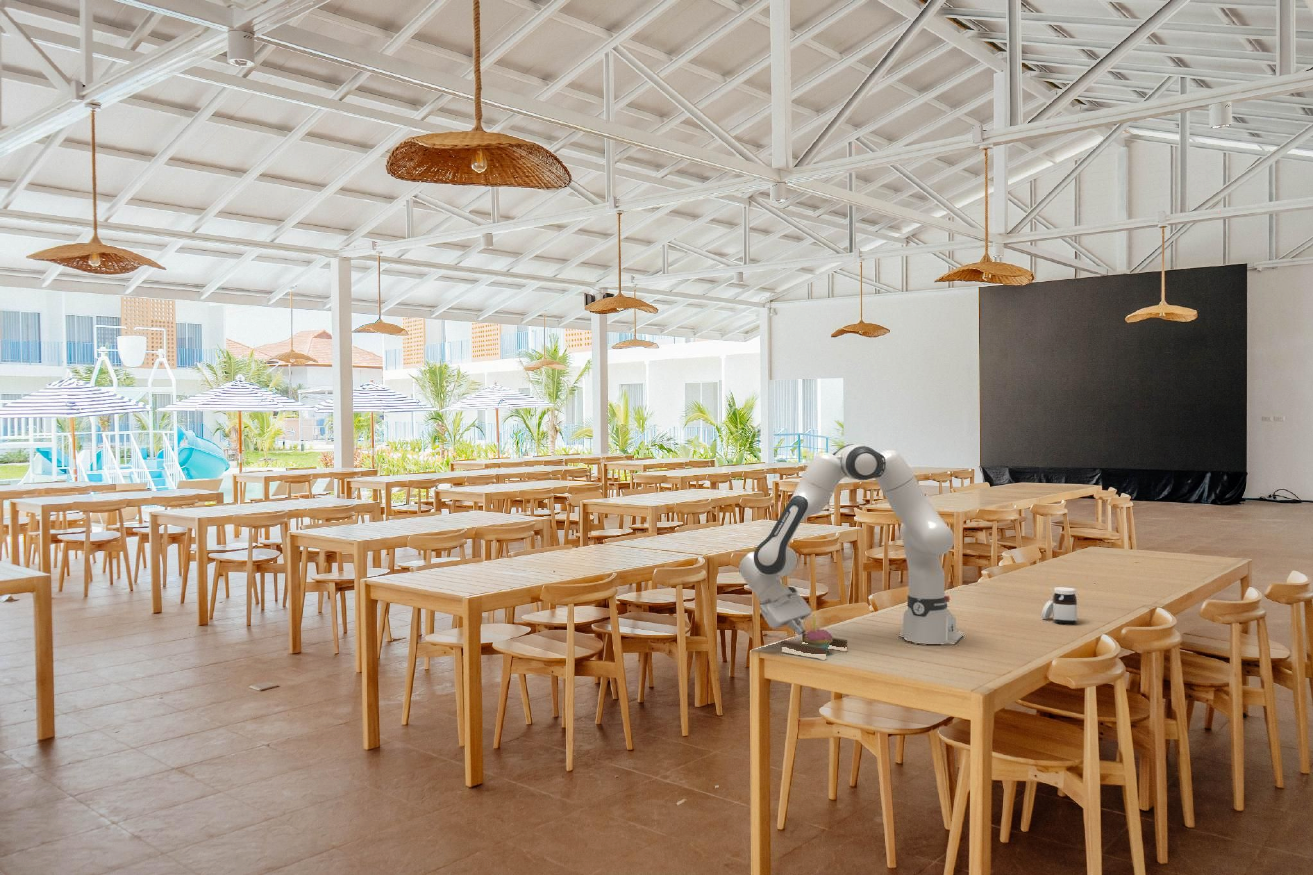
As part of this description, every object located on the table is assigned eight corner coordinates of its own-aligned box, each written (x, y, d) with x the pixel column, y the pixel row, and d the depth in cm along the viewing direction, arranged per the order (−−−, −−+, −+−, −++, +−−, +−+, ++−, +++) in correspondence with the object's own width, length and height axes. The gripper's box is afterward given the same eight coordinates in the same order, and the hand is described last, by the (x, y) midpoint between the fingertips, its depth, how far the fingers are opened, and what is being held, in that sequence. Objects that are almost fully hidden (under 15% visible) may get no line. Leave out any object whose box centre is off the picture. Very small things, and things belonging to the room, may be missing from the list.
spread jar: (1078, 626, 328) (1078, 591, 328) (1042, 624, 332) (1042, 590, 331) (1075, 619, 339) (1075, 585, 339) (1040, 617, 343) (1040, 584, 343)
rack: (804, 644, 306) (804, 633, 306) (847, 651, 296) (847, 639, 296) (780, 652, 295) (780, 641, 295) (824, 660, 285) (824, 648, 285)
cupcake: (818, 657, 289) (818, 617, 288) (798, 652, 296) (798, 613, 295) (838, 653, 294) (838, 613, 294) (818, 648, 301) (818, 609, 300)
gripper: (762, 596, 295) (790, 632, 289) (798, 586, 311) (825, 621, 305) (750, 609, 298) (778, 645, 292) (786, 599, 314) (813, 633, 308)
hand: (802, 632), depth 298 cm, fingers closed
